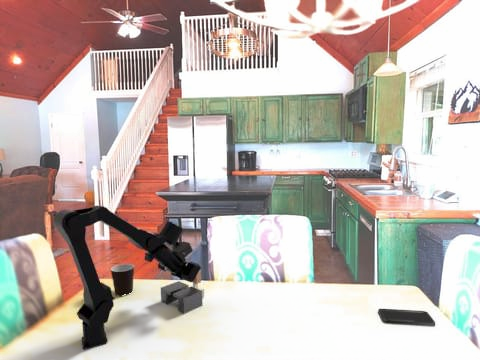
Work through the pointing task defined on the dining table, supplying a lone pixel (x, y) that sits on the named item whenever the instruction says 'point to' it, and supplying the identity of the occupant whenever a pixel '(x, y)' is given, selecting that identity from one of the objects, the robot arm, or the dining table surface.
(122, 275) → the coffee mug
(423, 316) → the phone
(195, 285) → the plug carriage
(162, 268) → the robot arm
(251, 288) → the dining table surface
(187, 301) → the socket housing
